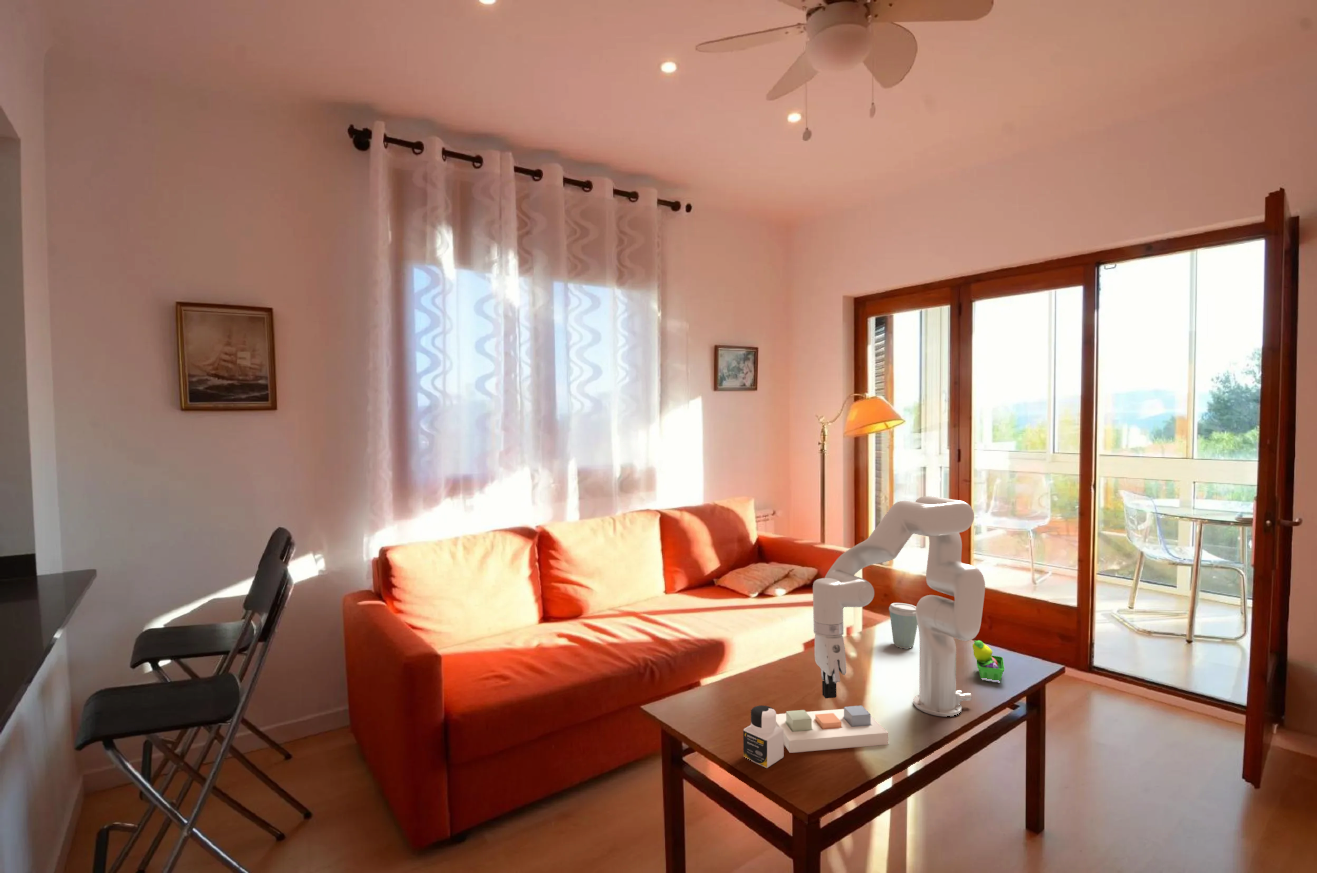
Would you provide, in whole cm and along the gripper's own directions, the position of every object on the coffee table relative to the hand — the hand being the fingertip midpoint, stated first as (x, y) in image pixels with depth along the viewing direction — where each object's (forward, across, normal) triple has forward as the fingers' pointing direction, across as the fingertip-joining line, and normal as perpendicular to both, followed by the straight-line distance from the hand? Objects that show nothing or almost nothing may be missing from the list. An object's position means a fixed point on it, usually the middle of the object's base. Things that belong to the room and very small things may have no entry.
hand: (829, 696), depth 164 cm
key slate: (+8, 0, -7) cm, 11 cm away
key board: (+10, 0, +1) cm, 10 cm away
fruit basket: (+12, +27, -64) cm, 71 cm away
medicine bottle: (+10, -8, +21) cm, 24 cm away
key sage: (+8, 0, +9) cm, 12 cm away
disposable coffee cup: (+12, +56, -52) cm, 77 cm away
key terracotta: (+10, 0, +1) cm, 10 cm away
